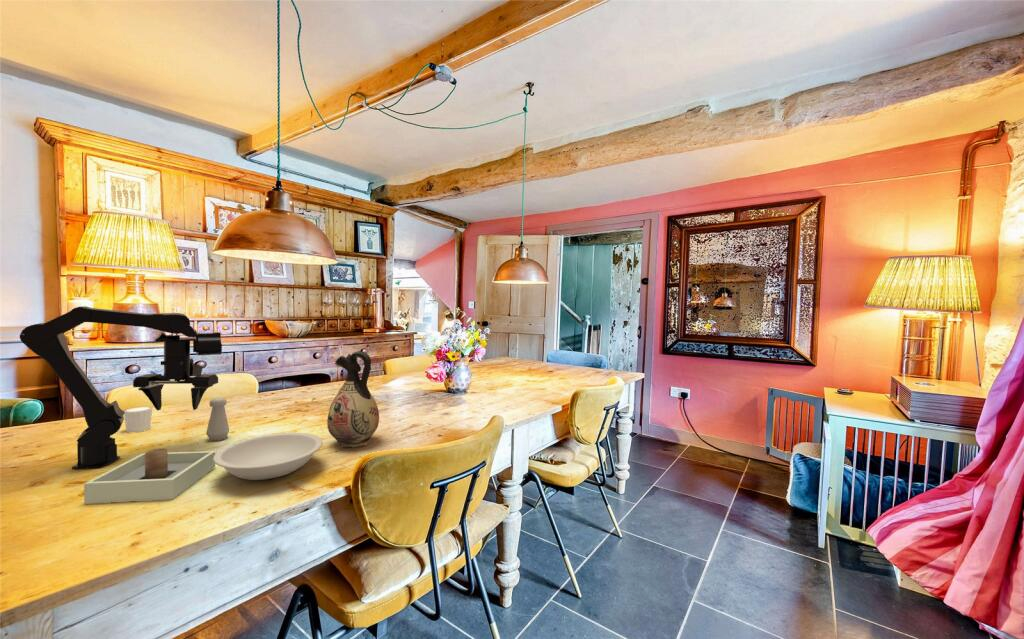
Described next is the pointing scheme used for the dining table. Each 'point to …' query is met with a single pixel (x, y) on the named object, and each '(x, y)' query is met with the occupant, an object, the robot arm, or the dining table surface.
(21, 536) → the dining table surface
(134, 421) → the white cube
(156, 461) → the peg
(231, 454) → the soup bowl
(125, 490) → the tray
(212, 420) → the salt shaker
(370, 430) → the ceramic jug
